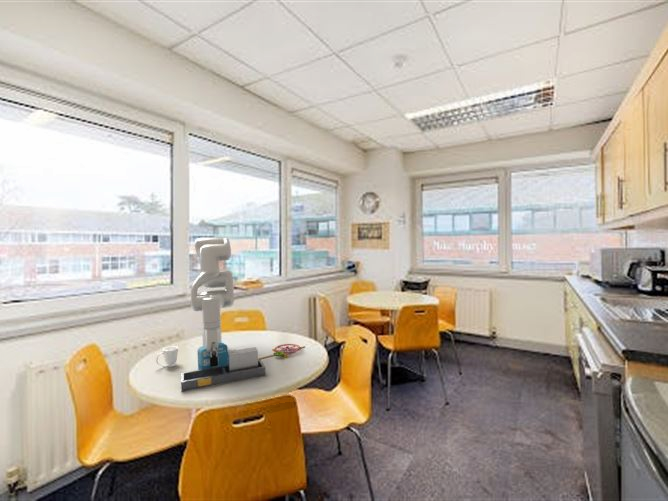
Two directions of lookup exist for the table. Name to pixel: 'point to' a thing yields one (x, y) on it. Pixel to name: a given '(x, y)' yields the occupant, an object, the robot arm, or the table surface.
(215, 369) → the rack
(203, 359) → the data package
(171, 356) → the cup
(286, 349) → the mechanical gear assembly
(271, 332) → the table surface
